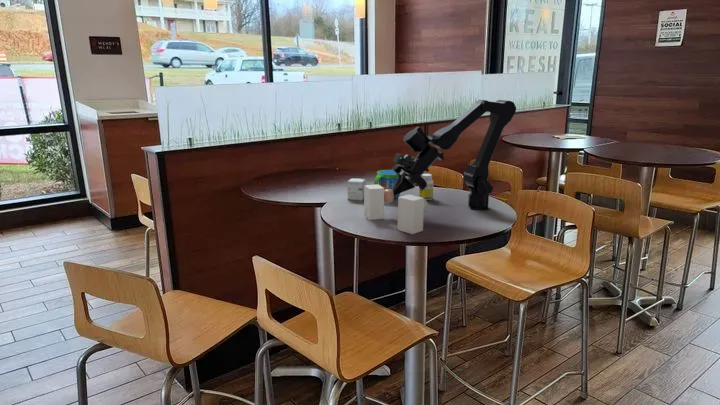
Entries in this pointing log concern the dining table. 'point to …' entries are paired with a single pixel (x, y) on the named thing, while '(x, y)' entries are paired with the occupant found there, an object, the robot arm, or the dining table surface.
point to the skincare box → (356, 189)
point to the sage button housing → (410, 213)
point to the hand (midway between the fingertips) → (392, 194)
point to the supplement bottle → (428, 191)
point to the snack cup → (387, 179)
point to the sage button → (425, 205)
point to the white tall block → (374, 202)
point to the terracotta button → (388, 195)
